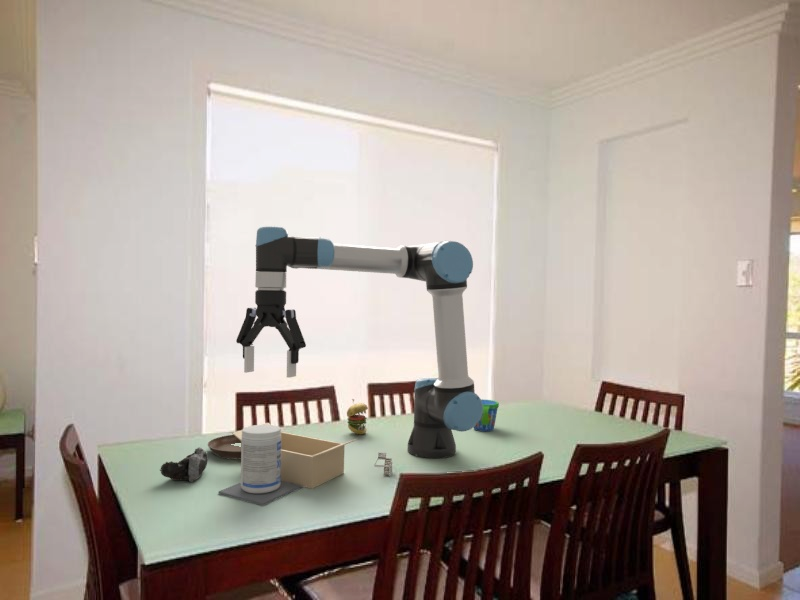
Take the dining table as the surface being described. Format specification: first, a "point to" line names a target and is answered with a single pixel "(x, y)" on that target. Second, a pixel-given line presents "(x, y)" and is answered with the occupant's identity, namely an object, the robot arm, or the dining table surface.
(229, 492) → the mat
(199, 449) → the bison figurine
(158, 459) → the dining table surface
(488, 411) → the snack cup
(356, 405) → the hamburger
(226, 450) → the plant saucer
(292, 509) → the dining table surface
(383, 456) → the staircase
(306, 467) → the carton
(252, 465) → the supplement tub
